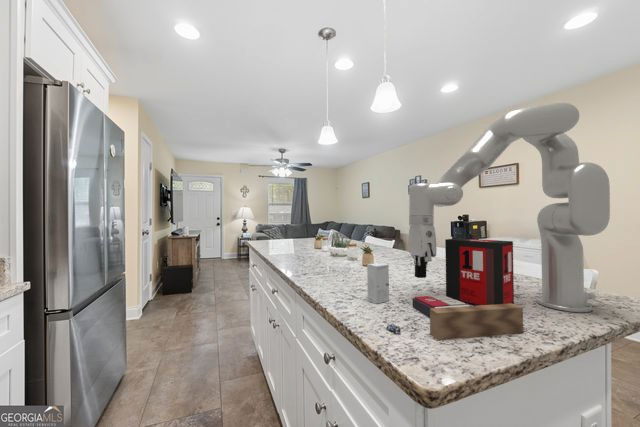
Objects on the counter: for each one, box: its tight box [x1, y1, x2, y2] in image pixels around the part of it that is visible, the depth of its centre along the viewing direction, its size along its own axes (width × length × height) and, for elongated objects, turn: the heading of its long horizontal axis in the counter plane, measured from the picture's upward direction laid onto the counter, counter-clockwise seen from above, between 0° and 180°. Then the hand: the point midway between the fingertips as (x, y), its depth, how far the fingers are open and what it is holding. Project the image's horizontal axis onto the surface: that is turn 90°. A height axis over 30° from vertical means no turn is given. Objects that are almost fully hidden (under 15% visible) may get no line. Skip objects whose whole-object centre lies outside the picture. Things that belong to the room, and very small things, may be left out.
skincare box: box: [366, 262, 390, 305], centre depth 87 cm, size 6×4×12 cm
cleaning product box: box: [445, 237, 515, 306], centre depth 84 cm, size 16×9×20 cm, turn 37°
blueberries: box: [384, 322, 408, 336], centre depth 64 cm, size 7×8×2 cm
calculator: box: [411, 294, 470, 318], centre depth 75 cm, size 11×4×15 cm
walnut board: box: [429, 303, 524, 341], centre depth 62 cm, size 22×3×6 cm, turn 98°
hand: (420, 277), depth 86 cm, fingers closed
